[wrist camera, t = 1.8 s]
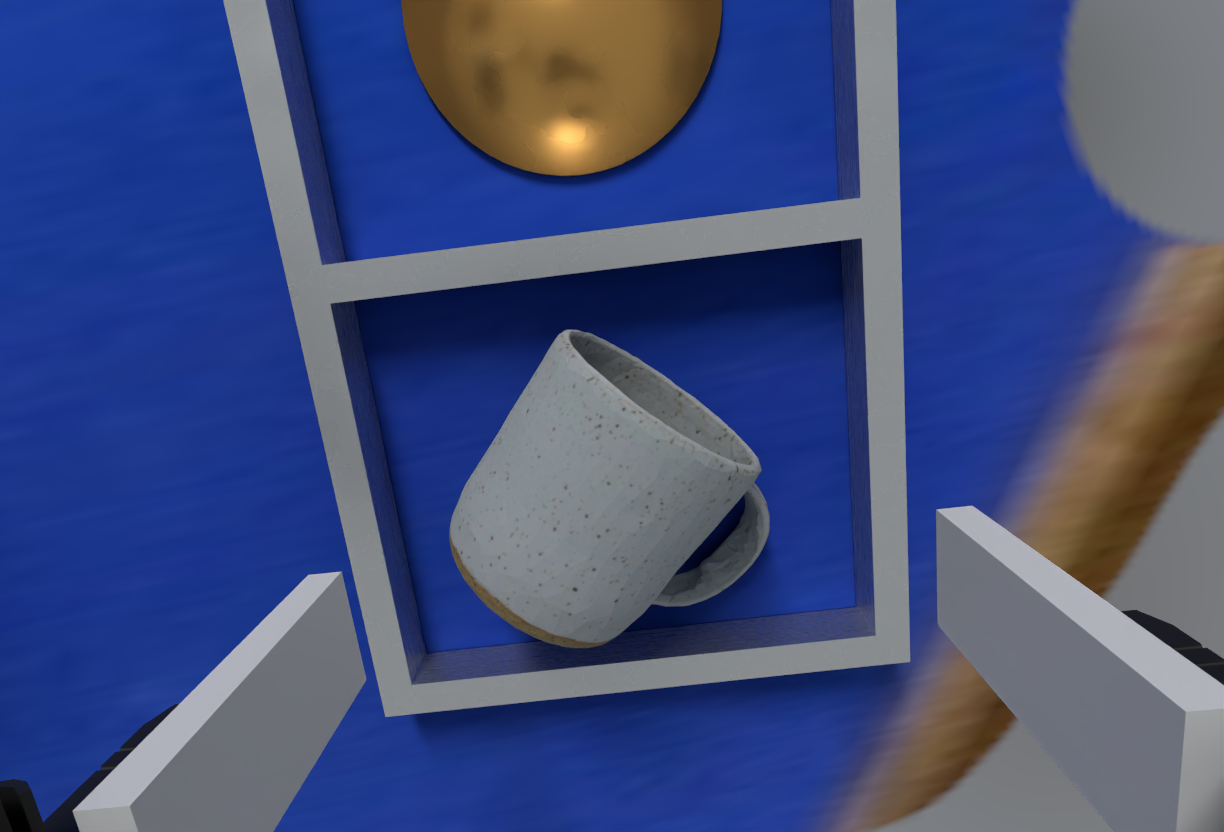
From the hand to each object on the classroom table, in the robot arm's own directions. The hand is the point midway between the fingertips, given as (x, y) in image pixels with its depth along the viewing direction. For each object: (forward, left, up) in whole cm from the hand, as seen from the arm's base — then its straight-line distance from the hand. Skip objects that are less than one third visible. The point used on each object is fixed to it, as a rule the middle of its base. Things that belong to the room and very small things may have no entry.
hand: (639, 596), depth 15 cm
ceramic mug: (0, 0, -10) cm, 10 cm away
